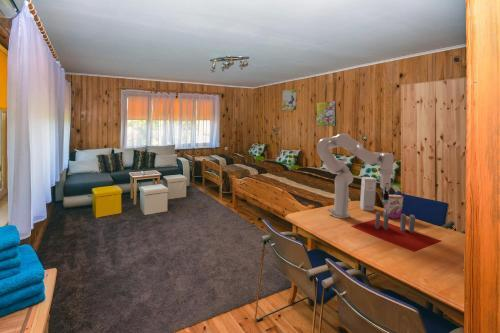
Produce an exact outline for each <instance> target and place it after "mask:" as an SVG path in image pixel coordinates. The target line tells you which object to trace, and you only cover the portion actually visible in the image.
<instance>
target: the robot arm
mask: <svg viewBox="0 0 500 333" xmlns="http://www.w3.org/2000/svg"><path fill="white" fill-rule="evenodd" d="M339 147H341V148H343V149H345V150H347V151H348V152H351V153H352V154H353V155H354V156H355V157H356V158H358V159H359V160H360V161H363V162H365V163H367V164H368V165H376V164H380V165H379V166H380V167H379V168H380V169H379V174H380V183H379V187H380V188H381V190H382V191H381V198H382V201H383V200H389V195H390V190H391V186H392V185H391V182H392V181H391V180H392V177H391V176H392V175H393V170H394V154H393V153H392V152H378V151H374V152H372V151H369V150H368V149H366V148H365V147H364V146H362V143H361V142H359V141H357V140H356V139H354V138H352V137H351V135H350V134H348V133H338V134H336V135H334V136H330V137H324V138H321V139H320V140H318V142H317V145H316V153H317V154H318V156H319V157H320V159H321V161H322V162H323V164H324V165H325V167H326V169H328V172H330V174H334V175H335V174H336V176H335V178H334V204H333V205H334V206H333V208H327V212H328V213H331V216H332V217H334V218H338V219H348V218H350V216H351V215H350V214H349V213H348V211H349V209H348V208H349V196H350V195H349V192H350V190H349V185H350V184H352V183H353V181H354V175H353V173H352V172H351V170H350V169H349V167H348V166H347V165H346V163H345V162H344V161H343V160H342V159H336V157H335V156H334V154H333V153H332V152H331V150H330V149H334V148H339ZM385 188H386V189H385ZM383 189H384V194H383ZM385 190H386V191H385Z"/></svg>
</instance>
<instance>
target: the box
mask: <svg viewBox="0 0 500 333" xmlns="http://www.w3.org/2000/svg"><path fill="white" fill-rule="evenodd" d="M377 181H378V180H377V178H375V177H374V176H361V183H360V185H361V186H360V198H359V199H360V200H359V201H360V203H359V208H360V209H361V210H362V211H370V212H371V211H375V207H376V206H375V205H376V203H375V202H376V192H377Z"/></svg>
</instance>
